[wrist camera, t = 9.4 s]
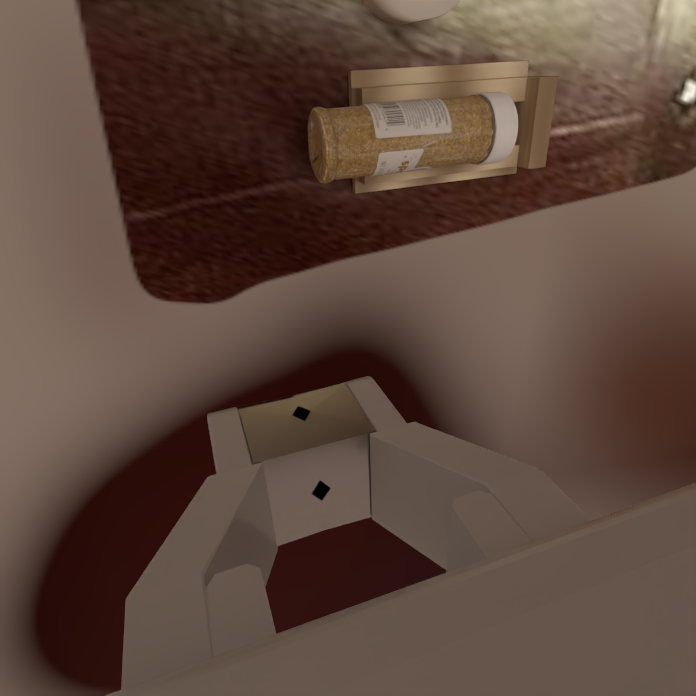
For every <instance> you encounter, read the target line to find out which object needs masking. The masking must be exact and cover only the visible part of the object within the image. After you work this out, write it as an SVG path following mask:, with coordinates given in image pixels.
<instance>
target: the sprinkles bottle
mask: <svg viewBox="0 0 696 696" xmlns="http://www.w3.org/2000/svg"><path fill="white" fill-rule="evenodd" d="M517 133H518V114H517V110H516V107H515V104H514V102H513V100H512V99H511V98H510V96H509V95H507V94H506V93H504V92H482V93H477V94H475V95H471V96H469V97H456V98H443V99H438V98H430V99H417V100H405V101H393V102H382V103H371V104H362V105H360V106H350V107H341V108H322V107H315V108H313V109H312V111H311V113H310V115H309V119H308V145H309V157H310V162H311V166H312V169H313V171H314V174H315V176H316V178H317V179H318V180H319V181H320V182H321V183H329V182H331V181H332V180H339V179H346V178H355V177H362V176H378V175H385V174H392V173H399V172H408V171H416V170H424V169H431V168H434V167H442V166H450V165H457V164H465V163H471V164H475V165H485V164H492V163H498V162H501V161H503V160H504V159H506V158H507V157H508V156H509V154H510V153H511V151H512V149H513V147H514V145H515V142H516V138H517Z"/></svg>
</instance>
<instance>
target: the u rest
mask: <svg viewBox="0 0 696 696" xmlns="http://www.w3.org/2000/svg"><path fill="white" fill-rule="evenodd" d="M528 65H529V61H514V62H497V63H479V64H461V65H444V66H426V67H409V68H391V69H373V70H356V71H348V86H349V107H350V106H360V105H362V104H371V103H382V102H393V101H405V100H417V99H430V98H438V99H443V98H456V97H469V96H471V95H475V94H477V93H482V92H504V93H506V94H507V95H509V96H510V98H511V99H512V100H513V102H514V104H515V107H516V110H517V114H518V133H517V138H516V142H515V145H514V147H513V149H512V151H511V153H510V154H509V156H508V157H507V158H506V159H504V160H503V161H501V162H498V163H492V164H485V165H475V164H471V163H465V164H457V165H450V166H442V167H434V168H431V169H424V170H416V171H408V172H399V173H392V174H385V175H378V176H362V177H355V178H352V184H353V193H355V194H357V193H365V192H373V191H381V190H389V189H397V188H405V187H413V186H420V185H428V184H436V183H444V182H452V181H460V180H468V179H476V178H484V177H491V176H499V175H507V174H515V173H516V170H517V166H518V167H523V168H527V169H532V168H540V167H545V165H546V158H547V151H548V144H549V137H550V130H551V123H552V115H553V108H554V101H555V94H556V87H557V80H558V76H527V74H528Z"/></svg>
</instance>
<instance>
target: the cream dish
mask: <svg viewBox="0 0 696 696" xmlns="http://www.w3.org/2000/svg"><path fill="white" fill-rule="evenodd" d="M362 1H363V3H364V4H365V6H366V7H367V8H368V9H369V10H370V11H371V12H372V13H373V14H374V15H375V16H377V17H378V18H380V19H381V20H383V21H385V22H388V23H392V24H408V23H413V22H417V21H422V20H426V19H431V18H435V17H438V16H441V15H443V14H445V13H446V12H448V11H449V10H451V9H452V8H453V7H454V6H455V5H456V4H457V3H458V2H459V1H460V0H362Z"/></svg>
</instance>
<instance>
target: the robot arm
mask: <svg viewBox="0 0 696 696" xmlns="http://www.w3.org/2000/svg"><path fill="white" fill-rule="evenodd" d="M207 420H208V426H209V432H210V437H211V444H212V449H213V455H214V461H215V466H216V473H217V474H216V475H212V476H209V477H207V479H206V480H205V482H204V483H203V485H202V486H201V488H200V489H199V491H198V492H197V494H196V496H195V497H194V498H193V500H192V501H191V503H190V504H189V506H188V507H187V509H186V510H185V512H184V513H183V515H182V516H181V518H180V519H179V521H178V522H177V524H176V525H175V527H174V528H173V530H172V531H171V533H170V534H169V536H168V537H167V539H166V540H165V542H164V543H163V545H162V546H161V548H160V549H159V551H158V552H157V553H156V555H155V556H154V558H153V560H152V561H151V563H150V564H149V565H148V567H147V568H146V570H145V571H144V573H143V574H142V576H141V577H140V579H139V580H138V582H137V583H136V585H135V586H134V588H133V589H132V591H131V592H130V594H129V595H128V597H127V598H126V608H125V629H124V648H123V667H122V688H121V690H120V691H118V692H114V693H112V694H109V695H106V696H696V483H695V484H692V485H689V486H687V487H684V488H681V489H678V490H675V491H672V492H669V493H667V494H664V495H661V496H658V497H655V498H653V499H650V500H647V501H644V502H642V503H639V504H636V505H633V506H631V507H628V508H625V509H622V510H620V511H617V512H614V513H611V514H608V515H606V516H603V517H600V518H597V519H595V520H592V521H591V520H590V519H589V518H588V517H587V516H586V515H585V514H584V513H583V512H582V511H581V510H580V509H579V508H578V507H577V506H576V505H575V504H574V503H573V502H572V501H571V500H570V499H569V498H568V497H567V496H566V495H565V494H564V493H563V492H562V491H561V490H560V489H559V488H558V487H557V486H556V485H555V484H554V483H553V482H552V481H551V480H550V479H549V477H548V476H547V475H545V473H543V472H542V470H540V469H538V468H535V467H533V466H530V465H528V464H525V463H522V462H520V461H517V460H514V459H511V458H509V457H506V456H504V455H501V454H498V453H496V452H493V451H490V450H488V449H485V448H482V447H480V446H477V445H474V444H472V443H469V442H467V441H464V440H461V439H459V438H456V437H453V436H451V435H448V434H445V433H442V432H440V431H437V430H434V429H432V428H429V427H427V426H424V425H421V424H419V423H416V422H412V423H408V424H407V423H406V422H405V420H404V419H403V418H402V416H401V415H400V414H399V412H398V411H397V410H396V409H395V407H394V406H393V405H392V403H391V402H390V401H389V399H388V398H387V397H386V395H385V394H384V393H383V391H382V390H381V389H380V388H379V386H378V385H377V383H376V382H375V381H374V380H373V378H371V377H369V376H367V377H363V378H359V379H355V380H352V381H348V382H344V383H342V384H338V385H334V386H330V387H326V388H322V389H318V390H315V391H310V392H306V393H303V394H298V395H294V396H292V395H291V396H287V397H282V398H277V399H273V400H268V401H263V402H258V403H253V404H249V405H244V406H239V407H237V408H236V407H235V408H230V409H226V410H222V411H217V412H213V413H209V414H208V416H207ZM369 517H372V519H373V520H374V521H376V522H377V523H379V524H380V525H382V526H383V527H384V528H386V529H387V530H389V531H391V532H392V533H393V534H395V535H396V536H398V537H399V538H401V539H402V540H403V541H405V542H407V543H408V544H409V545H411V546H412V547H414V548H415V549H417V550H418V551H419V552H421V553H423V554H424V555H425V556H427V557H428V558H430V559H431V560H433V561H434V562H435V563H437V564H438V565H440V566H441V567H443V568H444V569H446V570H447V572H446V573H445V574H442V575H439V576H436V577H433V578H431V579H428V580H425V581H422V582H420V583H417V584H414V585H411V586H408V587H406V588H403V589H400V590H397V591H395V592H392V593H389V594H386V595H383V596H381V597H378V598H375V599H372V600H370V601H367V602H364V603H361V604H359V605H356V606H353V607H350V608H347V609H345V610H342V611H339V612H336V613H334V614H331V615H328V616H325V617H322V618H320V619H317V620H314V621H311V622H309V623H306V624H303V625H301V626H297V627H295V628H292V629H289V630H286V631H284V632H281V633H278V634H276V632H275V628H274V624H273V619H272V615H271V611H270V607H269V603H268V599H267V594H266V590H265V586H266V583H267V580H268V577H269V574H270V570H271V568H272V564H273V562H274V559H275V556H276V553H277V549H278V548H277V546H279V545H282V544H285V543H288V542H291V541H294V540H297V539H300V538H303V537H305V536H308V535H311V534H314V533H317V532H320V531H323V530H326V529H330V528H333V527H337V526H341V525H344V524H348V523H351V522H355V521H358V520H361V519H365V518H369Z"/></svg>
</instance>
